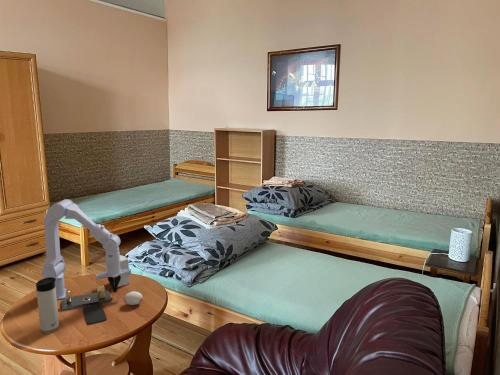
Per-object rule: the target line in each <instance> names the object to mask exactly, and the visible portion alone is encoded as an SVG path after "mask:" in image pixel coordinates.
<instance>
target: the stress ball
mask: <svg viewBox="0 0 500 375" xmlns="http://www.w3.org/2000/svg"><path fill="white" fill-rule="evenodd" d="M123 298H124V299H123V300H124V303H125V304H127V305H128V306H129V305H130V306H132V307H133V308H135V306H136V305H139V304H140V303H141V302H142V301H143V298H144V297H143V295H142V293H140V292H138V291H130V292H128V293H127V294H125V295H124V297H123Z"/></svg>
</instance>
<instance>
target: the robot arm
mask: <svg viewBox="0 0 500 375" xmlns="http://www.w3.org/2000/svg"><path fill="white" fill-rule="evenodd" d="M47 209H48V210H47V212H46V214H45V215H44V217H43V223H44V224H43V226H44V238H45V239H44V242H45V253H46V254H45V256H46V258H45V260H44V262H43V268H42V270H41V276H42V279H44V278H49V277H53V278H56V281H55V288H56V298H57V300H62V298H66V292H65V291H67V288H65V286H66V285H65V275H64V271H66V267H67V266H66V262H65V261H64V257H63V256H62V255H61V246H60V245H61V244H60V227H59V222H60V220H61V219H63V218H64V219H67V220H73V219H74V220H75V221H77V222H78V223H79V224H80V225H82V226H83V227H85V228H86V229H88V230H89V234H90V236H92V237H93V238H94V239H95V240H96V241H98V242H99V243H100V244H102V248H103V249H104V251H105V264H106V265H105V266H106V267H105V268H106V271H104V272H100V273H96V274H95V278H96V281H98V280H101V279H102V280H103V279H107V280H108V284H110V286H111V289H112V292H113V294H114V293H118V288H119V287H118V284H119V282H120V280H121V275H127V274H129V276H130V275H132V269H130V268H129V269H120V255H121V253H120V244H121V238H120V236H119V235H117V234H113V232H110V231H109V230H107V229H106V228H105V225H103V224H102V225H101V223H95V221H93V220H92V219H91V218H90V217H89V216H88V215H86V214H85V213H84V212H83V211H82V210H81V209H80V207H79V206H78V204H76V203H74V202H73V200H71V199H69V198H68V199H67V198H64V199H63V200H60V201H59V202H57V203H54V204H52V205H51V206H50V207H48V208H47ZM114 283H115V285H114Z"/></svg>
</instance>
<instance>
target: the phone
mask: <svg viewBox="0 0 500 375" xmlns="http://www.w3.org/2000/svg"><path fill="white" fill-rule="evenodd" d="M82 311H83V312H82V313H83V316H84V320H85V321H86V324H87V325H88V326H90V325H95V324H98V323H103V322H106V321H107V320H108V318H107V315H106V312H105V311H104V308H103V306H102V303H101V304H95V305H90V306H85V307H82Z"/></svg>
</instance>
